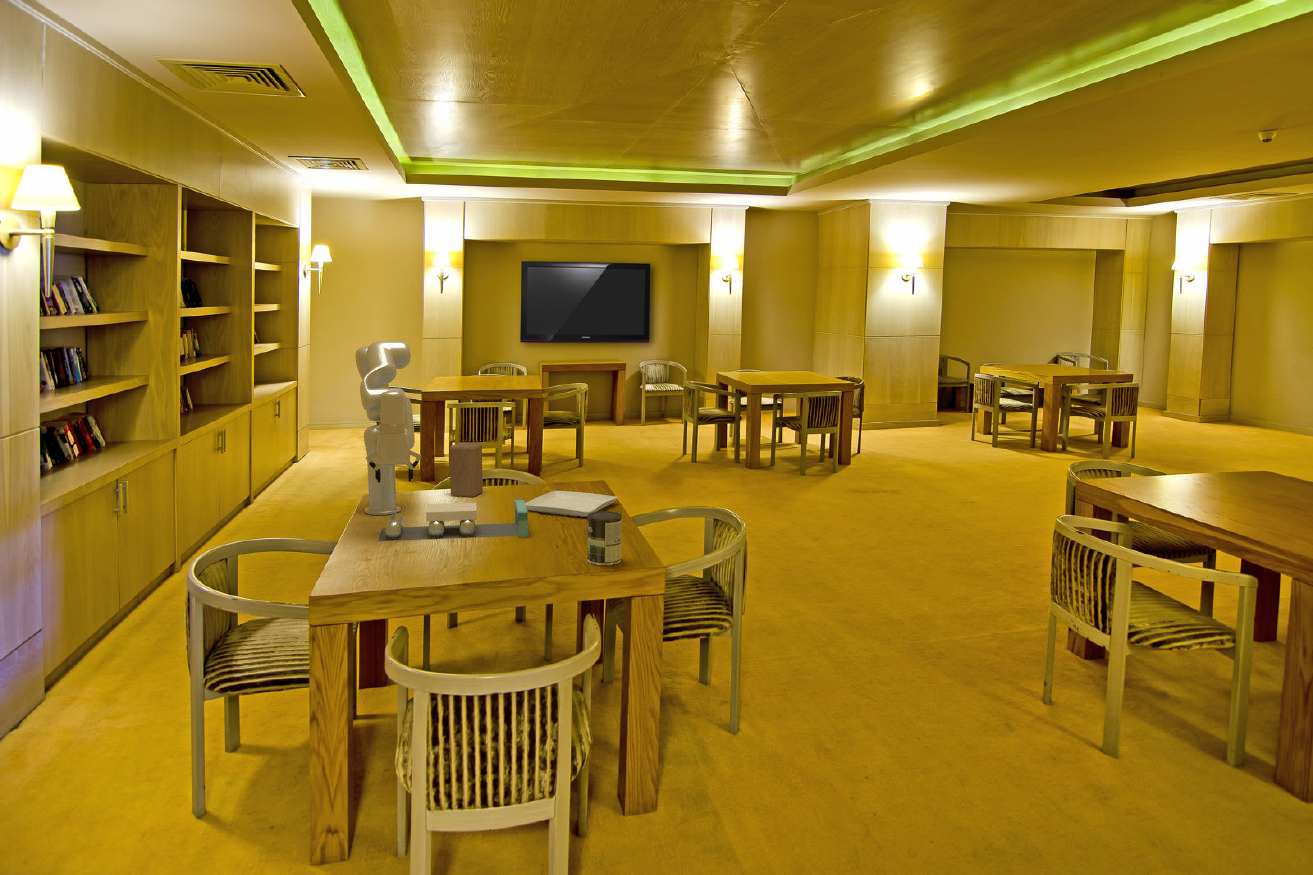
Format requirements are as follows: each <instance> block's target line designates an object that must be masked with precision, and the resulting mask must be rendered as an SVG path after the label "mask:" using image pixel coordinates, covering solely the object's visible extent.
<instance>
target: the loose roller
mask: <svg viewBox="0 0 1313 875" xmlns="http://www.w3.org/2000/svg"><path fill="white" fill-rule="evenodd" d="M387 520H388V521H387V523H386V525H385V528H386V529H385V536H386V537H387V538H388V539H390V540H396V539H398V538H399V537H400V534H401V531H402V527H404V522H405V519H404V517H403V515H402V514H401V513H399V512H397V513H394V514H390V516H389V517H388V519H387ZM396 541H397V540H396Z"/></svg>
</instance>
